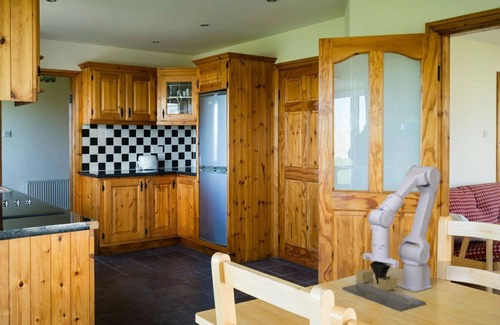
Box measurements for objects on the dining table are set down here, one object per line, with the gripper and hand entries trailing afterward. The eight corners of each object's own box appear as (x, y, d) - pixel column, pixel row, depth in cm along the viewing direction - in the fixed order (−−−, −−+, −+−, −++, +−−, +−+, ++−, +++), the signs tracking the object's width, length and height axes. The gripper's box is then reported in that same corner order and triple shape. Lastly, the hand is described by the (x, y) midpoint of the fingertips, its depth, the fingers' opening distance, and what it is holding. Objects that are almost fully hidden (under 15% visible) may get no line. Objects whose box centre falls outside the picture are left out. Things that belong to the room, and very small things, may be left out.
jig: (366, 284, 177) (367, 266, 177) (425, 304, 155) (426, 284, 155) (342, 289, 171) (342, 271, 171) (400, 311, 149) (400, 290, 149)
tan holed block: (390, 291, 165) (390, 274, 165) (397, 293, 163) (397, 276, 162) (378, 294, 162) (378, 277, 162) (385, 296, 160) (385, 279, 159)
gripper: (356, 242, 168) (356, 280, 169) (388, 250, 156) (388, 291, 156) (371, 239, 172) (371, 277, 172) (403, 247, 159) (403, 287, 160)
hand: (380, 283), depth 165 cm, fingers closed
